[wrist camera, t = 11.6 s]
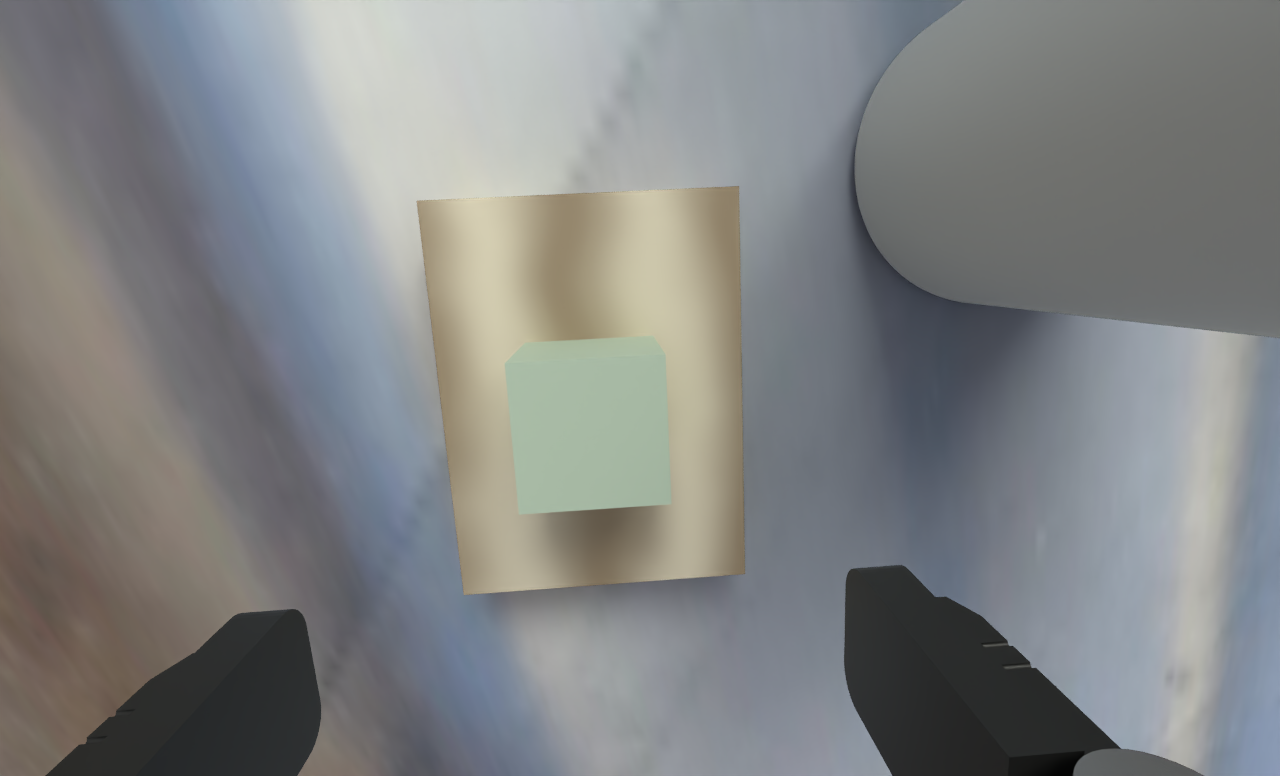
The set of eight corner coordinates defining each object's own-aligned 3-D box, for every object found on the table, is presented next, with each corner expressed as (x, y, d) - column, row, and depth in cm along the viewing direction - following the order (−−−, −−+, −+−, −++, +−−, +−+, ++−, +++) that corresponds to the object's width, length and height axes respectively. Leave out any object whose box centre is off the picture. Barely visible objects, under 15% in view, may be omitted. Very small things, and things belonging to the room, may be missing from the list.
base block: (719, 197, 27) (739, 186, 23) (726, 533, 30) (744, 573, 26) (444, 210, 26) (416, 200, 22) (482, 551, 30) (463, 594, 26)
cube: (653, 335, 24) (665, 354, 19) (658, 457, 25) (671, 504, 20) (525, 342, 24) (504, 363, 19) (535, 464, 25) (519, 514, 20)
